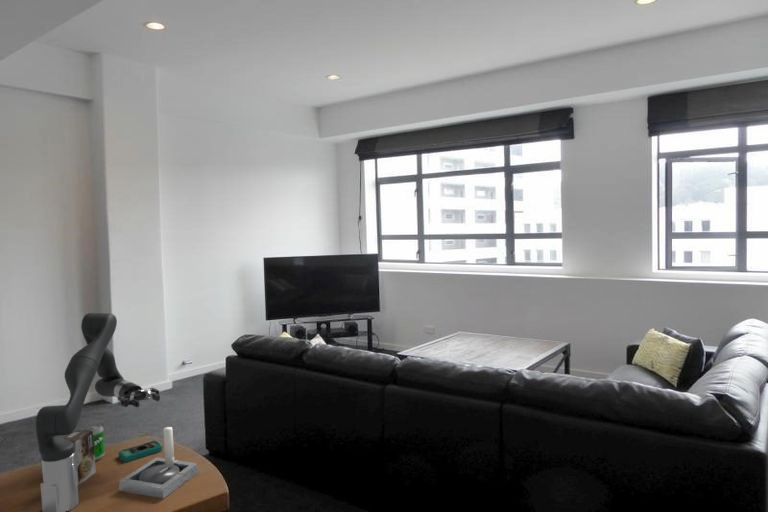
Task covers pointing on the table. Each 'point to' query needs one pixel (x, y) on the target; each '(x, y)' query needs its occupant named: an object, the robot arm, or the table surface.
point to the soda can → (97, 440)
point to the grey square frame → (158, 490)
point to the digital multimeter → (140, 451)
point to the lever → (166, 470)
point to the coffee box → (83, 453)
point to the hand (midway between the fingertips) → (148, 401)
